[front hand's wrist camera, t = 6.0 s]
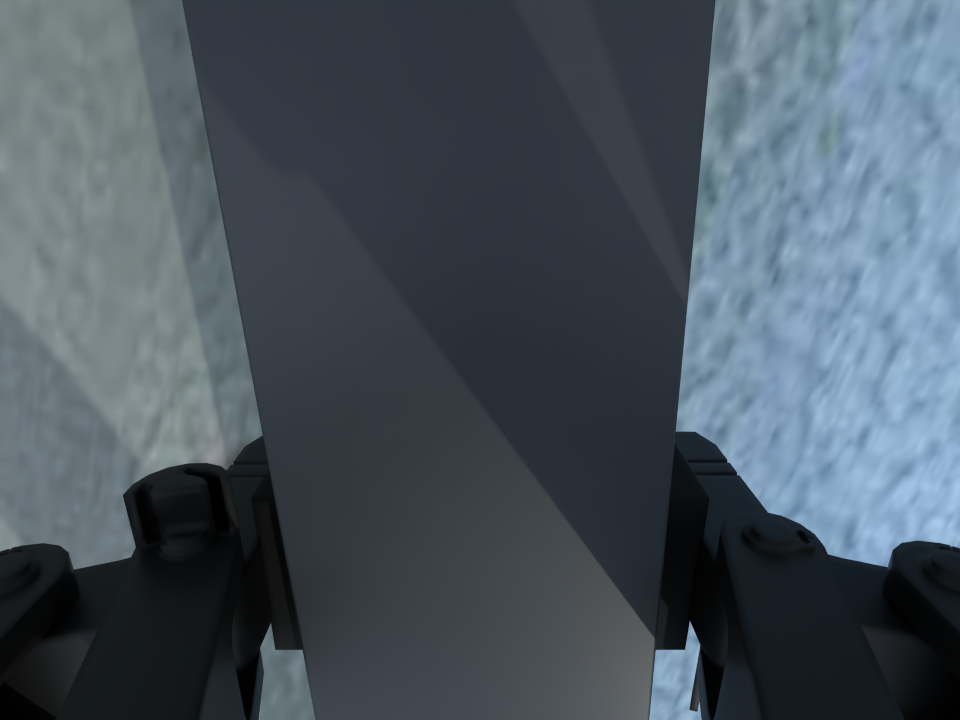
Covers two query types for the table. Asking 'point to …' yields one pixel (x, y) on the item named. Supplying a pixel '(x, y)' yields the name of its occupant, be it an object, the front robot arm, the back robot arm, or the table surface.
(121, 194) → the table surface
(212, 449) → the table surface
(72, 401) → the table surface
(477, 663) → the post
